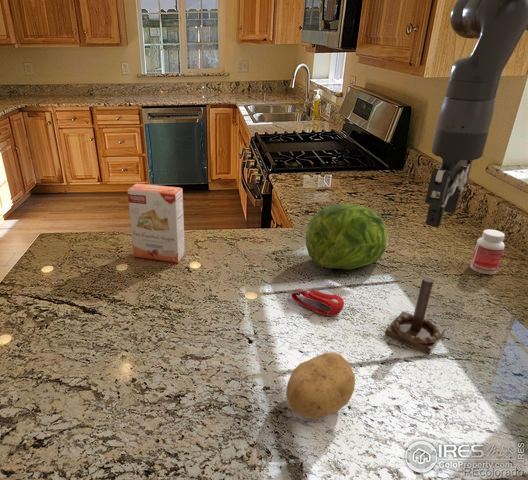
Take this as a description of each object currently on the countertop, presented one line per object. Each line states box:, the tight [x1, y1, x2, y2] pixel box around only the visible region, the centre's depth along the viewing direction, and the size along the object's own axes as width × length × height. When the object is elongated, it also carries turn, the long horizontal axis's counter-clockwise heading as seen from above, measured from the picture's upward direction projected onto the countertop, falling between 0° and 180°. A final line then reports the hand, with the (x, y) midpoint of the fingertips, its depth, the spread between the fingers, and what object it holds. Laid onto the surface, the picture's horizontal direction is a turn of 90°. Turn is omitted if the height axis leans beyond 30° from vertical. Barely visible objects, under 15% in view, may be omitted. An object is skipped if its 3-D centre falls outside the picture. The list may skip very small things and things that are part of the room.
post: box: [384, 276, 446, 355], centre depth 87 cm, size 9×9×14 cm
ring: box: [392, 314, 440, 344], centre depth 88 cm, size 9×9×1 cm
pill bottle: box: [469, 228, 506, 275], centre depth 112 cm, size 6×6×11 cm
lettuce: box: [305, 203, 389, 270], centre depth 115 cm, size 18×23×19 cm
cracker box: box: [127, 182, 186, 264], centre depth 119 cm, size 14×6×21 cm, turn 73°
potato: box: [285, 351, 356, 420], centre depth 71 cm, size 10×14×8 cm
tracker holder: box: [288, 288, 345, 316], centre depth 99 cm, size 12×4×10 cm
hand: (440, 218), depth 76 cm, fingers open, 8 cm apart
